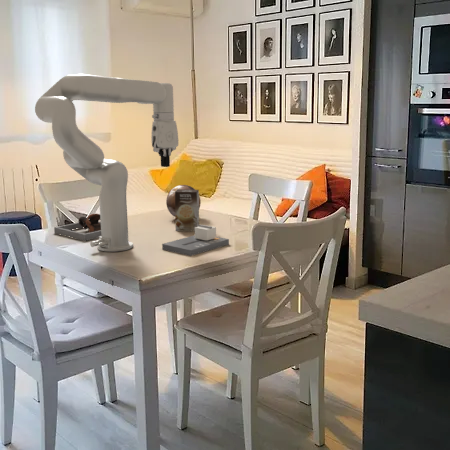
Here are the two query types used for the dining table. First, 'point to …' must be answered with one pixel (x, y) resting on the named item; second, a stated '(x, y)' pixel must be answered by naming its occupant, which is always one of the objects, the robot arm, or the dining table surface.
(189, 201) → the coffee box
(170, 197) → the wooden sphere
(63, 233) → the grey shallow tray
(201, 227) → the fader knob
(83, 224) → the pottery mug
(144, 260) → the dining table surface
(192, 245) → the board
